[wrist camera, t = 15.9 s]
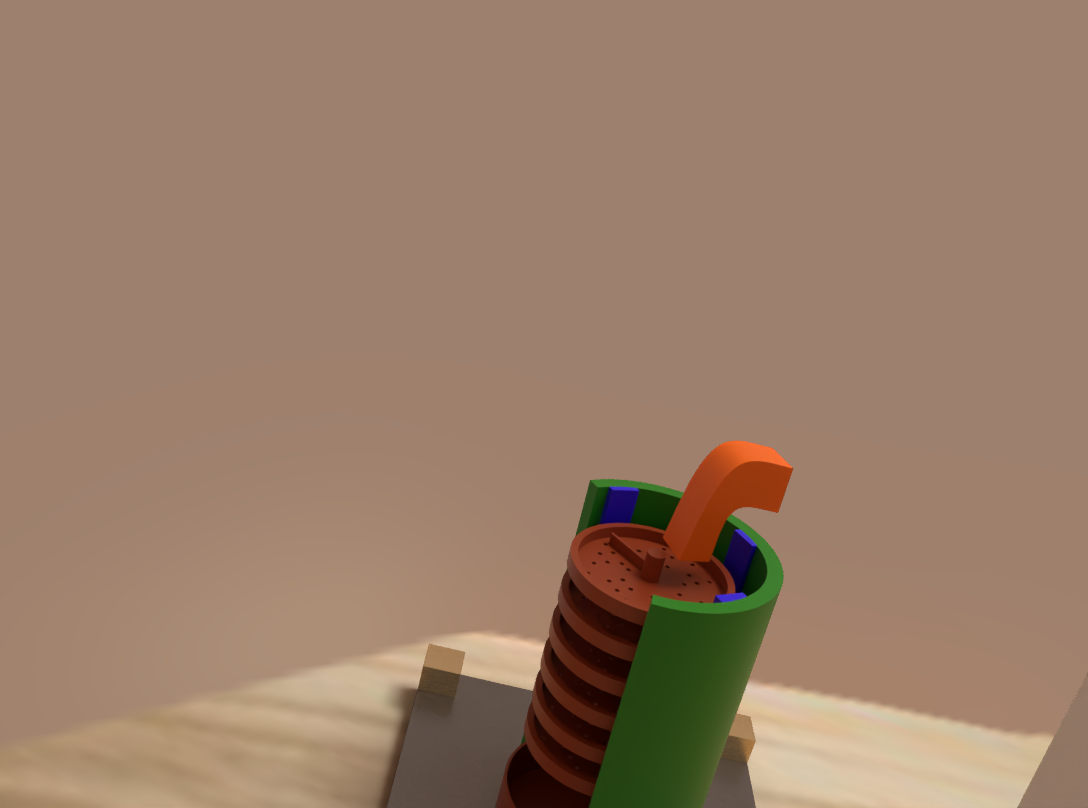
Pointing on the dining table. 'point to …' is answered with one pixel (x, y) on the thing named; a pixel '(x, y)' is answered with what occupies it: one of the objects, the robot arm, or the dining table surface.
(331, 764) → the dining table surface
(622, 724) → the motor
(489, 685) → the plate
